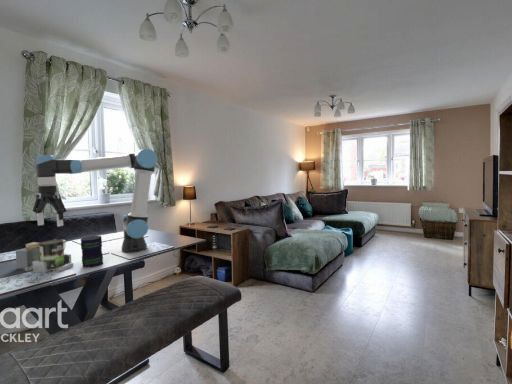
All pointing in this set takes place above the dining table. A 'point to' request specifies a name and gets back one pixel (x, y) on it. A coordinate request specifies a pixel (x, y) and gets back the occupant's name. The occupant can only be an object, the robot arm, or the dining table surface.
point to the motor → (36, 259)
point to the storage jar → (91, 251)
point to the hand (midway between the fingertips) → (50, 225)
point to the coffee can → (52, 253)
